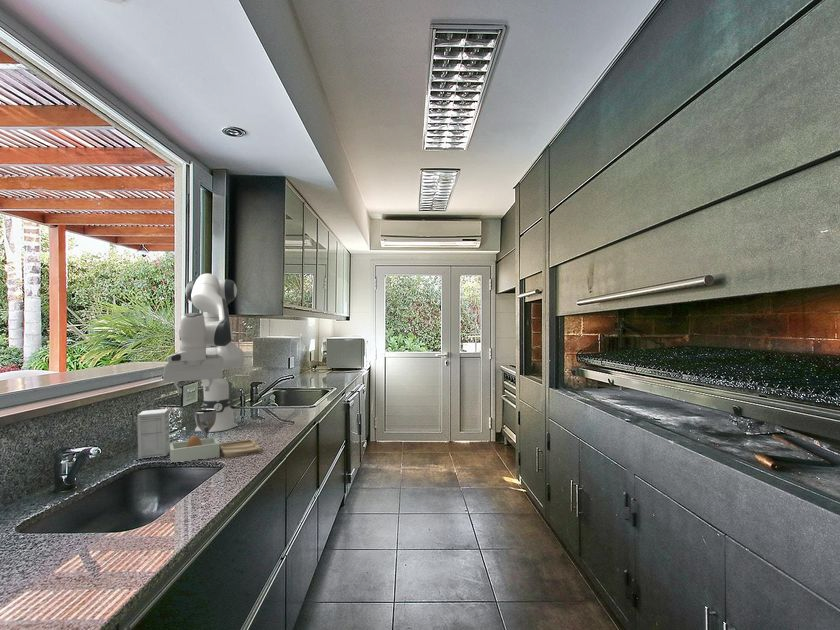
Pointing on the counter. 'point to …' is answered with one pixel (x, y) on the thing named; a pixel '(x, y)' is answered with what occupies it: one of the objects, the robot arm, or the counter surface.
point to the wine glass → (205, 420)
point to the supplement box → (153, 433)
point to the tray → (239, 448)
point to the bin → (194, 450)
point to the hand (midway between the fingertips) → (193, 392)
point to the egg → (194, 441)
